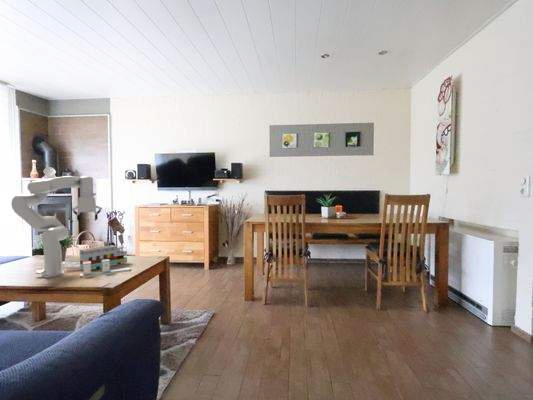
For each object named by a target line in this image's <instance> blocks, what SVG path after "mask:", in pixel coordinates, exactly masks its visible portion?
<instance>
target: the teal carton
mask: <svg viewBox="0 0 533 400" xmlns="http://www.w3.org/2000/svg"><path fill="white" fill-rule="evenodd" d="M110 270H111V266H110V260H109V259H106V260H102V268H101V271H102V273H105V272H110Z"/></svg>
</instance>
